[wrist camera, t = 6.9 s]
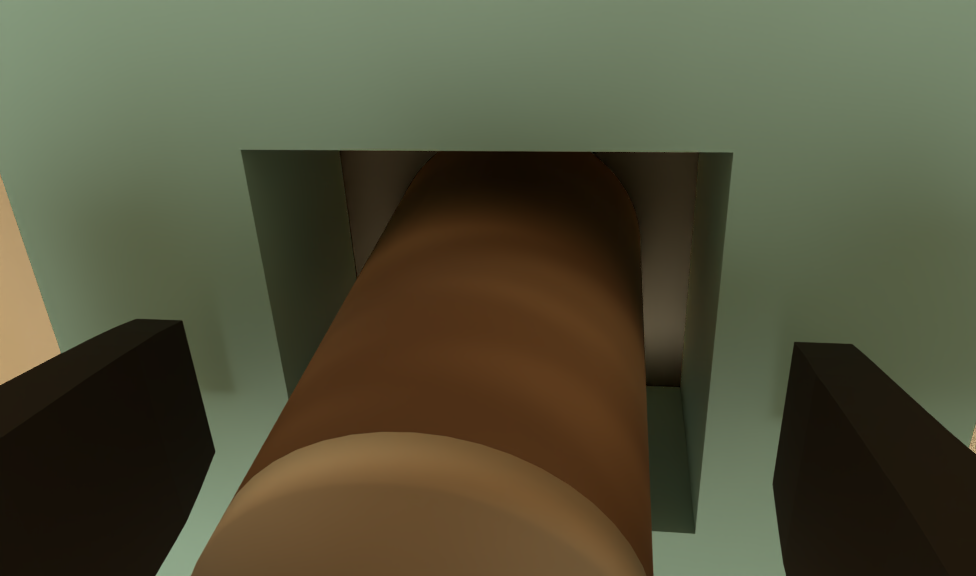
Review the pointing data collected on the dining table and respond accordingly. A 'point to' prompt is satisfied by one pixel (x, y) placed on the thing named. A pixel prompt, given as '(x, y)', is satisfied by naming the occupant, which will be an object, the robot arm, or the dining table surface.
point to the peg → (468, 392)
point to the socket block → (510, 127)
